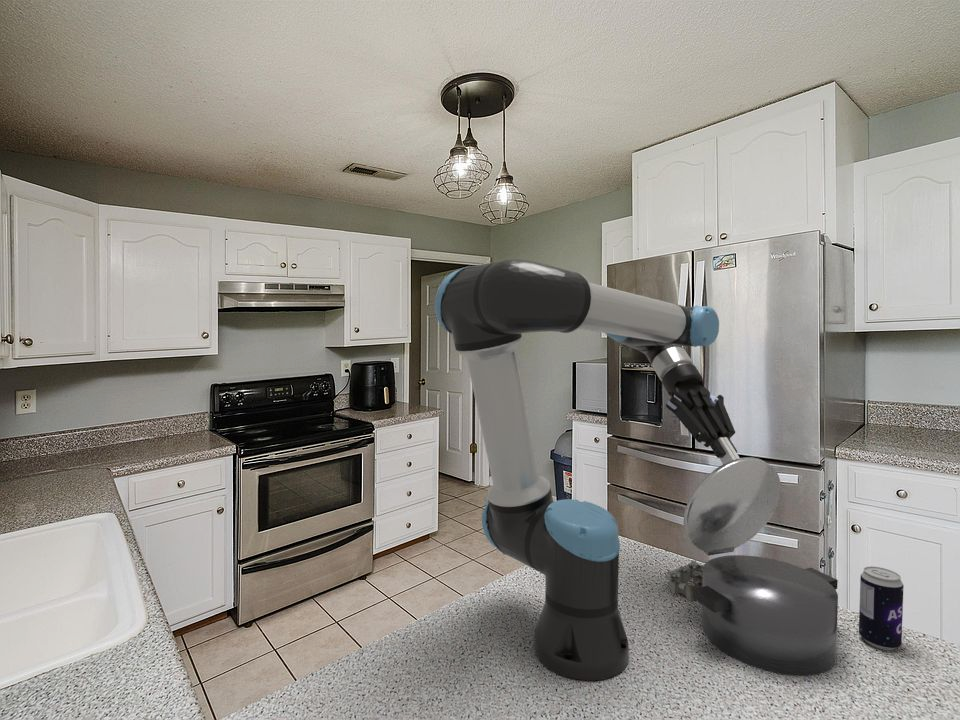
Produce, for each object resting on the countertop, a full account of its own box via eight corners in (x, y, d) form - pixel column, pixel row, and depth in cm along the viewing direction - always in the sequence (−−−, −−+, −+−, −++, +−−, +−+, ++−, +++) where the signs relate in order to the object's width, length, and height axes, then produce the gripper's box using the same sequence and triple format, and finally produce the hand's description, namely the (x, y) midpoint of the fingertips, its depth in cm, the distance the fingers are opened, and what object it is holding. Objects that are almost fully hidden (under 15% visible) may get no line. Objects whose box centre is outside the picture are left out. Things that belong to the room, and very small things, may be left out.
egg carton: (694, 605, 100) (694, 584, 99) (661, 589, 106) (661, 569, 106) (726, 589, 105) (726, 570, 105) (693, 575, 112) (693, 557, 111)
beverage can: (890, 656, 83) (893, 583, 82) (851, 638, 88) (853, 569, 87) (908, 647, 85) (910, 576, 85) (869, 629, 90) (871, 562, 90)
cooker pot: (751, 691, 75) (752, 623, 74) (663, 619, 94) (664, 565, 93) (880, 657, 83) (882, 596, 82) (775, 597, 102) (776, 547, 101)
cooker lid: (703, 465, 88) (694, 457, 90) (676, 560, 95) (668, 551, 97) (794, 457, 94) (783, 450, 96) (762, 547, 101) (753, 539, 103)
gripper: (694, 384, 114) (753, 478, 99) (643, 385, 110) (697, 484, 95) (712, 361, 108) (778, 457, 93) (659, 362, 104) (719, 463, 89)
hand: (737, 471), depth 94 cm, fingers closed
